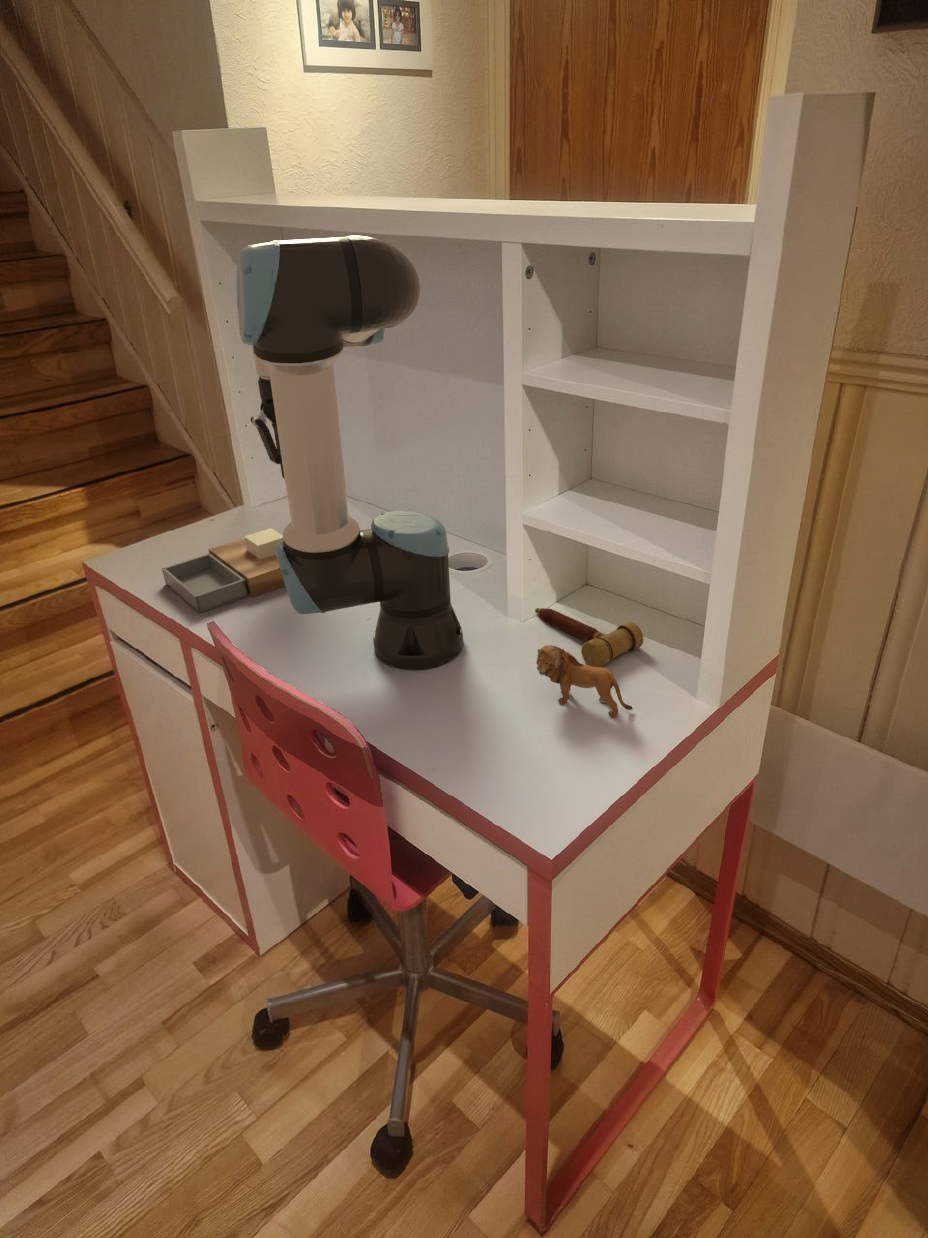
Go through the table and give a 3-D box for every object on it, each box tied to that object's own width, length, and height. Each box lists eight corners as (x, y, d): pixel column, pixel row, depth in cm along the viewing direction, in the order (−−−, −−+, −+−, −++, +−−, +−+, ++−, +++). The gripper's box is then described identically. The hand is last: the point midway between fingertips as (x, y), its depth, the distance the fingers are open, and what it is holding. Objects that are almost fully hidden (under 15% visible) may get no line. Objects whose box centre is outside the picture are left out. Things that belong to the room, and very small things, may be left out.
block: (287, 550, 170) (285, 536, 168) (260, 559, 166) (257, 545, 165) (273, 541, 174) (271, 528, 172) (246, 550, 171) (244, 536, 169)
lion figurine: (531, 704, 128) (531, 654, 123) (541, 685, 132) (541, 636, 128) (628, 721, 123) (632, 670, 119) (635, 701, 128) (639, 650, 123)
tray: (248, 595, 162) (245, 579, 160) (199, 613, 157) (195, 596, 155) (212, 568, 173) (209, 553, 171) (165, 584, 168) (162, 568, 166)
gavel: (514, 607, 148) (556, 589, 153) (515, 630, 150) (556, 612, 155) (601, 648, 133) (644, 626, 138) (601, 673, 135) (644, 651, 140)
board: (311, 575, 168) (309, 557, 166) (252, 597, 161) (248, 578, 159) (269, 547, 181) (266, 530, 179) (212, 566, 174) (208, 549, 172)
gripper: (298, 364, 164) (313, 479, 176) (236, 377, 157) (256, 496, 169) (318, 371, 159) (332, 489, 171) (255, 385, 152) (274, 507, 164)
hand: (294, 492), depth 170 cm, fingers closed
